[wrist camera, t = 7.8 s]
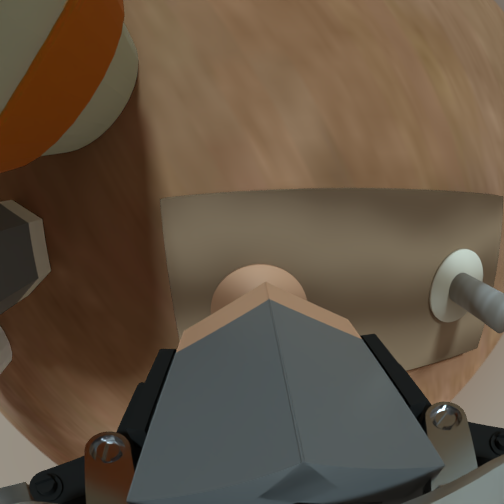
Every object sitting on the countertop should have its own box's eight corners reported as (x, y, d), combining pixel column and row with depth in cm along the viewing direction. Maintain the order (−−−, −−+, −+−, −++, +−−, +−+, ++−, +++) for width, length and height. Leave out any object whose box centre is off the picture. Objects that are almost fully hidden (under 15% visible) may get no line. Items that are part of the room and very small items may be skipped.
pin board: (167, 197, 15) (117, 209, 8) (489, 194, 15) (554, 206, 9) (194, 381, 18) (179, 456, 11) (467, 339, 18) (512, 379, 12)
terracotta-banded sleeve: (176, 286, 10) (85, 448, 3) (350, 274, 10) (481, 405, 3) (204, 425, 11) (187, 559, 4) (335, 414, 11) (378, 540, 4)
